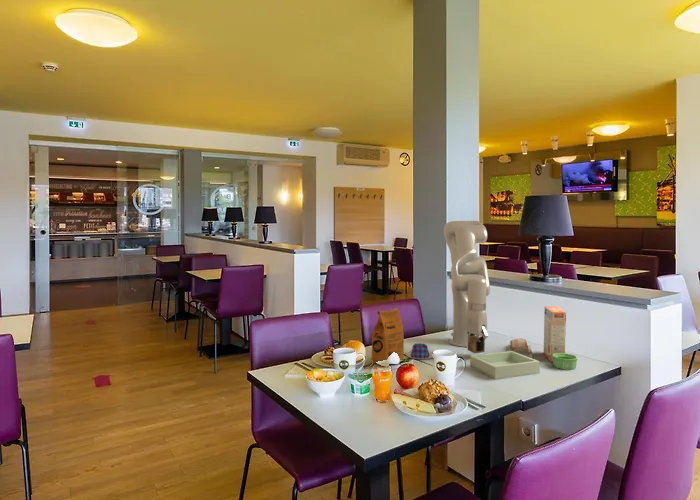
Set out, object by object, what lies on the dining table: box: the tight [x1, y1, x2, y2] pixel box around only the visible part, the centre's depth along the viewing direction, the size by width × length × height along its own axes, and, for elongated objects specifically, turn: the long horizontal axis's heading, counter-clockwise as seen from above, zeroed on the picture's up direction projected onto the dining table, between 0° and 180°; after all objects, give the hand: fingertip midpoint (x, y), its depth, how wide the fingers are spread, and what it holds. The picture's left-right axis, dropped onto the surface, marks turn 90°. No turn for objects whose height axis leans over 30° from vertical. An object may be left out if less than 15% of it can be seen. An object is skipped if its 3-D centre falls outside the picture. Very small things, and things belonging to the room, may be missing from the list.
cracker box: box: [543, 305, 567, 363], centre depth 198 cm, size 14×6×21 cm, turn 168°
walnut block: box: [467, 335, 486, 354], centre depth 200 cm, size 5×5×6 cm
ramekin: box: [552, 352, 578, 371], centre depth 186 cm, size 9×9×4 cm
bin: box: [469, 350, 541, 380], centre depth 182 cm, size 16×20×4 cm
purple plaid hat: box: [405, 342, 433, 360], centre depth 203 cm, size 12×12×5 cm
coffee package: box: [371, 307, 405, 364], centre depth 193 cm, size 10×12×22 cm
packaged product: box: [507, 337, 534, 359], centre depth 208 cm, size 18×5×10 cm
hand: (476, 348), depth 200 cm, fingers closed on walnut block, 4 cm apart
